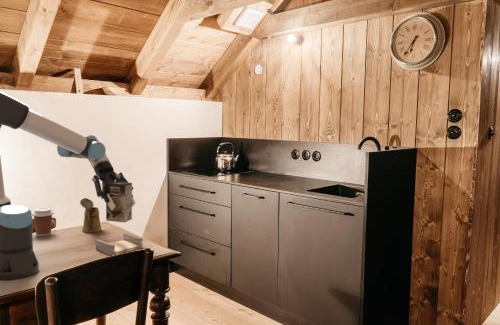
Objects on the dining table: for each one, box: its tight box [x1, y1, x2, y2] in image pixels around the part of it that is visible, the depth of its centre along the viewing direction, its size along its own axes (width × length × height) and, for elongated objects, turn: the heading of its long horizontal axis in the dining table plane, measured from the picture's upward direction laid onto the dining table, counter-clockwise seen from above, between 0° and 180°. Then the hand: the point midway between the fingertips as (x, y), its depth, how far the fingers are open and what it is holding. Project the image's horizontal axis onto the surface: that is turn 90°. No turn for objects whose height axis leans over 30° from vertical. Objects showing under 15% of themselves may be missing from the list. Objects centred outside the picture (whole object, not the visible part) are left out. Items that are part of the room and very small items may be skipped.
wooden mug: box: [79, 197, 102, 234], centre depth 207 cm, size 9×14×18 cm, turn 1°
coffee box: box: [105, 182, 133, 223], centre depth 181 cm, size 9×6×16 cm
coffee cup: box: [32, 207, 54, 237], centre depth 201 cm, size 9×9×12 cm
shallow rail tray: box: [95, 232, 143, 256], centre depth 182 cm, size 15×12×4 cm
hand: (123, 206), depth 179 cm, fingers closed on coffee box, 9 cm apart
